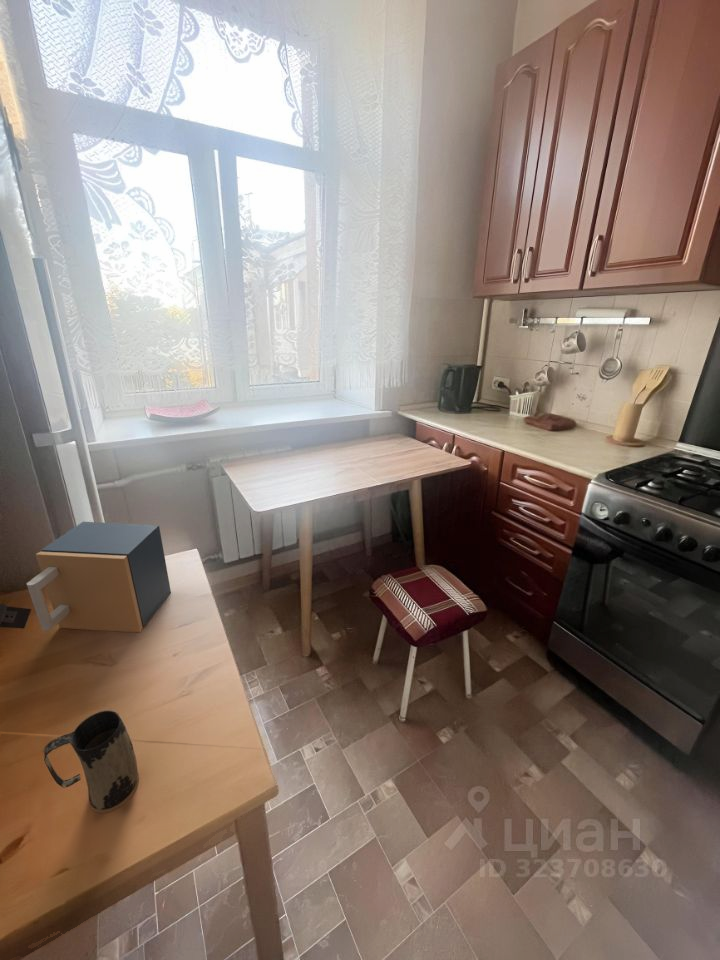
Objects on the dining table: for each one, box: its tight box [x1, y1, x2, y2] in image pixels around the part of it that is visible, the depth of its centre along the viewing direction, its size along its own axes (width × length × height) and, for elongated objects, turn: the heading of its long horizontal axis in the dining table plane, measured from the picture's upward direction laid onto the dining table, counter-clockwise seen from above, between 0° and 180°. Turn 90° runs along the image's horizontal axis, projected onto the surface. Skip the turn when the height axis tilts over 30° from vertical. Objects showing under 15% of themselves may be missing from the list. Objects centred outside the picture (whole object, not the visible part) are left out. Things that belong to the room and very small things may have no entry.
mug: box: [43, 710, 140, 814], centre depth 48 cm, size 8×6×12 cm
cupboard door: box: [26, 551, 144, 633], centre depth 71 cm, size 6×16×17 cm, turn 88°
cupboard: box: [40, 521, 172, 629], centre depth 79 cm, size 11×16×17 cm
